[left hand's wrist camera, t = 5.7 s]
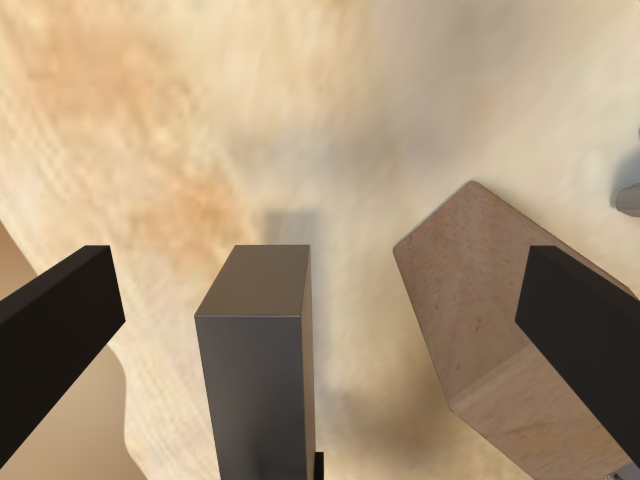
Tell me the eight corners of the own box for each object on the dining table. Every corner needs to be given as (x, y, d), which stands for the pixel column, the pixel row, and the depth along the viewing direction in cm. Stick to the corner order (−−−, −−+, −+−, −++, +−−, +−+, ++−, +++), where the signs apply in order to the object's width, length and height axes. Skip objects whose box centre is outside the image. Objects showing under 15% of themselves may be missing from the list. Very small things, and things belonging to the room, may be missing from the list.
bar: (235, 244, 28) (193, 315, 20) (310, 244, 28) (300, 315, 20) (260, 483, 38) (240, 600, 29) (316, 484, 38) (312, 601, 29)
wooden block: (536, 248, 37) (738, 411, 19) (455, 311, 40) (560, 506, 22) (471, 177, 35) (630, 285, 16) (389, 250, 38) (446, 411, 19)
